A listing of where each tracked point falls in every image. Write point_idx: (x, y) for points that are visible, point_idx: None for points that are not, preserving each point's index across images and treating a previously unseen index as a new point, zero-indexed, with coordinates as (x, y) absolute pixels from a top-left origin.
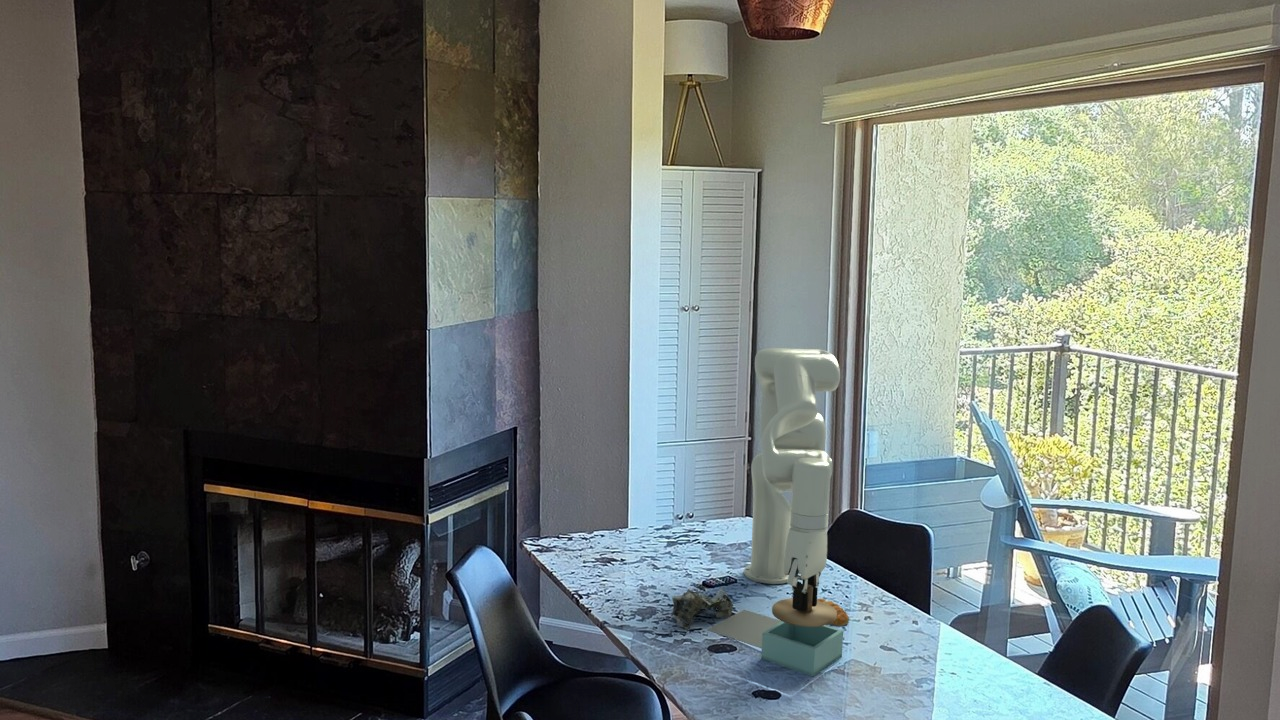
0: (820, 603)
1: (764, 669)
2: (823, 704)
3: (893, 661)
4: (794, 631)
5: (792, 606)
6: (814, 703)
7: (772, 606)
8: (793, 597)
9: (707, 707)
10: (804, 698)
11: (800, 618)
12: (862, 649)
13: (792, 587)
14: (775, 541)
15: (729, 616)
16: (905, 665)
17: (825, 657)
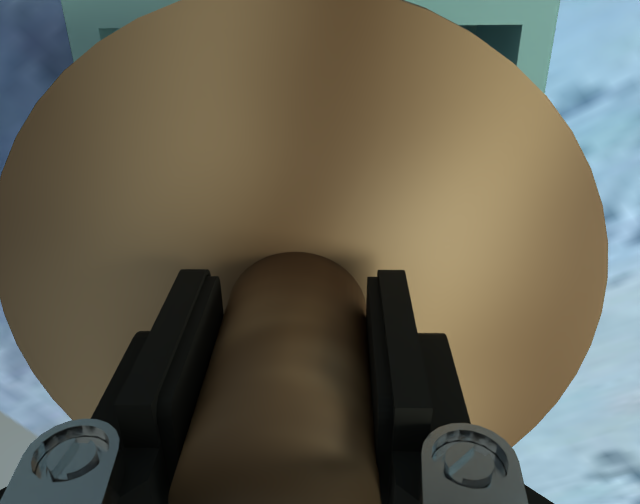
0: (544, 342)
1: (66, 61)
2: (33, 399)
3: (561, 439)
4: (491, 25)
5: (180, 271)
6: (9, 376)
7: (129, 25)
8: (150, 339)
9: None
10: (6, 335)
11: (113, 367)
12: (618, 314)
13: (23, 466)
14: None
15: None
16: (550, 477)
17: None
